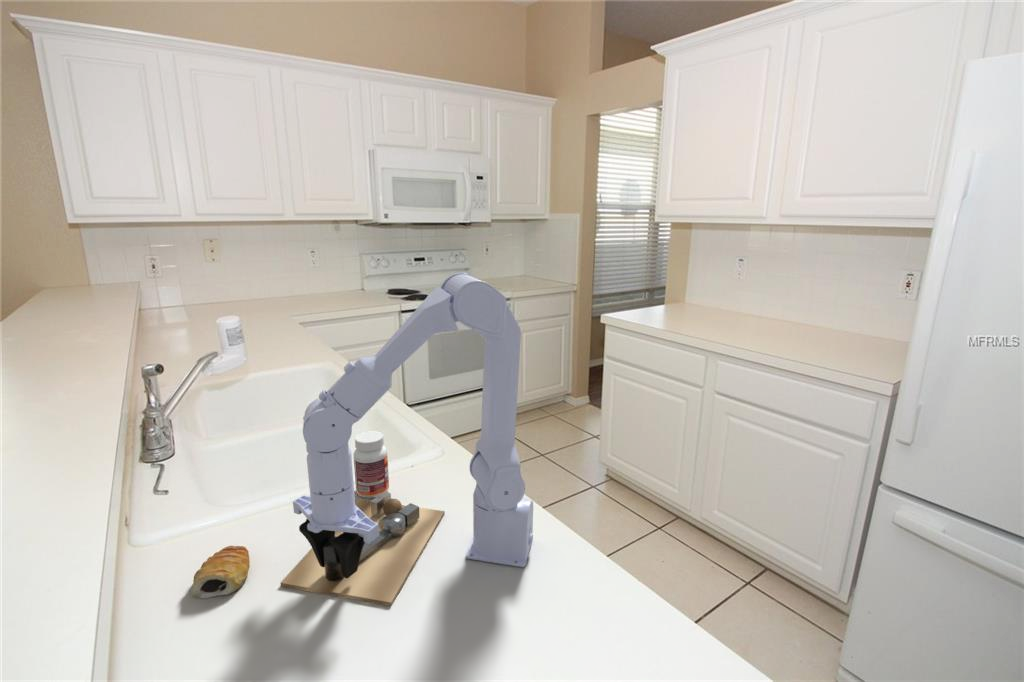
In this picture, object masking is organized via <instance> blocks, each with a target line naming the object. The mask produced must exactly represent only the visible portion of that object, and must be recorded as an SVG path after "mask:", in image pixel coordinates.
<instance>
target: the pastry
mask: <svg viewBox="0 0 1024 682" xmlns="http://www.w3.org/2000/svg"><path fill="white" fill-rule="evenodd" d="M249 570H250V554H249V550H248V549H247V547H246V546H243V545H241V546H239V545H236V546H235V545H227V546H226V547H224V548H222V549H220V550H219V551H216V552H214V554H213V555H212V556H209V557H208V558H207V560H205V561H204V562H202V564H201V567H200V569H198V570H197V571H196V572H195V573H194V576H193V580H192V581H193V584H192V586H191V589H190V590H189V593H190V595H191V596H192V597H195V598H196V599H202V600H203V599H204V600H205V599H211V598H215V597H218V596H225V595H230V594H232V593H234V592H236V591H238V590H239V589H240V588H241V587H242V586H244V585H245V584H246V581H247V578H248V574H249Z"/></svg>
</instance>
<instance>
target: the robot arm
mask: <svg viewBox="0 0 1024 682" xmlns="http://www.w3.org/2000/svg"><path fill="white" fill-rule="evenodd" d="M457 322H459V323H461V324H462V325H463V326H465V327H467V328H469V329H471V330H474V331H476V332H477V333H478V334H479V335H480V337H482V338H483V340H484V349H483V350H484V351H483V375H482V378H483V379H482V397H481V398H482V400H481V401H482V402H481V425H480V438H479V439H477V441H476V443H475V451H474V454H473V456H471V457H472V458H471V459H470V461H469V473H470V475H471V477H472V478H473V479H474V480H475V482H476V485H475V488H474V492H473V494H472V497H473V501H472V502H473V505H472V507H473V509H472V510H473V511H472V512H473V514H472V515H473V516H472V517H473V519H472V520H473V521H472V523H473V524H472V525H473V537H472V539H471V541H470V544H469V546H468V547H467V551H466V552H465V558H466V559H469V560H474V561H475V560H476V561H480V562H486V563H487V562H488V563H492V564H500V565H507V566H513V567H518V568H519V567H520V568H524V567H525V566H526V565H527V560H528V557H529V554H530V553H529V552H530V550H531V546H532V545H533V538H534V535H533V532H534V525H533V524H534V502H533V500H532V499H528V498H527V497H526V498H525V497H524V496H525V493H526V484H525V481H524V479H523V476H522V472H521V467H522V466H521V464H522V463H521V460H520V457H519V453H518V451H517V447H516V443H515V441H516V427H517V426H516V425H517V407H518V406H517V405H518V392H519V391H518V390H519V387H518V386H519V375H520V374H519V373H520V358H521V355H520V354H521V338H522V337H521V336H522V332H521V326H520V325H519V324H518V321H517V319H516V317H515V316H514V314H513V312H512V310H511V309H510V307H509V304H508V303H507V298H506V296H505V295H504V294H503V293H502V292H501V291H499V290H498V289H497V288H496V287H494V286H493V285H491V284H490V283H488V282H487V281H484V280H480V279H478V278H476V277H475V276H473V275H471V274H469V273H467V272H456V273H453V274H450V275H449V276H448V277H447V278H445V279H444V281H442V284H441V286H437V287H435V289H433V290H432V291H430V293H429V294H428V295H427V296H426V298H425V299H424V300H423V301H422V302H421V303H420V304H419V305H418V307H417V308H416V309H415V310H414V311H413V312H412V313H411V314H410V316H409V317H408V318H407V319H406V320H405V322H403V324H402V325H401V326H400V327H398V329H397V330H396V331H395V333H394V334H393V335H392V336H391V337H390V338H389V339H388V340H387V341H386V342H385V344H384V345H383V346H382V347H381V348H380V350H378V351H377V353H376V354H374V355H372V356H365V357H364V356H362V357H359V358H358V359H357V360H356V361H355V362H352V361H351V360H350V361H348V363H346V364H345V366H344V367H343V371H344V373H343V375H342V376H340V377H339V378H338V380H336V382H334V384H333V385H331V386H330V388H329V389H328V390H326V389H323V390H322V391H321V392H319V394H318V398H316V399H315V400H313V401H311V403H309V404H308V406H307V407H306V409H305V411H304V415H303V423H302V424H303V425H302V435H303V440H304V442H305V443H306V444H305V447H306V449H305V450H306V452H307V455H306V465H307V474H308V486H309V494H310V495H309V496H308V495H305V494H303V495H300V497H297V498H296V499H294V500H293V501H292V506H293V507H292V508H293V513H294V514H296V515H301V514H303V515H304V517H305V518H306V519H305V521H304V522H302V523H301V524H300V525H299V526H298V527H299V528H298V529H299V532H300V533H301V534H302V535H303V536H304V538H305V539H306V540H307V541H308V543H309V545H310V547H311V549H313V551H314V553H315V555H316V558H317V560H318V562H319V564H320V566H321V567H325V565H324V555H323V542H324V541H325V540H326V539H328V538H330V537H335V531H339V532H343V534H340V535H339V536H338V537H336V538H335V539H333V540H332V541H331V544H332V545H333V546H334V548H335V549H336V551H337V553H338V556H339V559H340V564H341V570H342V574H343V576H344V577H345V578H349V577H350V576H351V575H353V574H354V573H355V572H356V571H357V569H358V564H359V560H360V556H361V552H362V549H363V546H364V544H365V542H366V543H368V544H369V543H371V542H372V541H373V540H375V539H376V538H377V537H378V536H379V525H378V523H375V522H373V521H372V520H371V519H369V518H368V517H367V516H366V515H365V514H364V513H363V512H362V511H361V510H360V509H359V508H358V507H357V506H356V505H355V500H356V498H355V487H354V485H355V484H354V483H355V481H354V471H353V458H352V456H353V455H352V450H351V447H350V446H349V445H350V444H349V441H350V439H351V437H352V431H353V429H352V427H353V425H354V424H355V423H357V422H359V421H360V420H361V419H362V418H363V417H364V416H365V414H367V413H368V412H369V411H370V410H371V409H372V407H373V406H375V405H376V404H377V402H379V400H381V399H382V397H383V396H384V395H385V394H386V393H388V391H389V390H390V389H391V388H392V386H393V379H392V377H393V373H394V372H396V370H398V368H399V367H400V366H401V365H403V364H404V363H405V362H406V361H407V360H408V359H409V358H411V356H413V354H414V353H416V352H417V350H419V349H420V348H421V347H422V346H423V345H424V344H425V343H427V342H428V341H429V340H430V339H431V338H432V337H433V336H434V335H435V334H440V333H449V332H452V333H453V332H457V331H459V330H460V329H459V327H458V325H457Z"/></svg>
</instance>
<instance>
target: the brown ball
mask: <svg viewBox="0 0 1024 682" xmlns="http://www.w3.org/2000/svg"><path fill="white" fill-rule="evenodd" d="M402 505H403V504H402V502H401V501H400V500H399V499H397V498H391V499H389V500H388V501H386V503H385V504H384V507H383V511H384V514H385V515H386V516H387V515H389V514H392V513H398V511H400V510H401V509H402Z"/></svg>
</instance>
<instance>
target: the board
mask: <svg viewBox="0 0 1024 682" xmlns="http://www.w3.org/2000/svg"><path fill="white" fill-rule="evenodd" d="M355 505H356V506H357V507H358V508H359V509H360V510H361V511H362V512H363V513H364V514H365V515H366V516H367V517H368V518H369V519H371V520H372V521H373V522H375V523H378V525H379V532H380V531H381V530H383V519H384V517H385V516H386V515H385V514H383V515H382V516H380V517H379V518H375V517H372V516H371V500H366V499H359V498H355ZM406 506H407V505H403V504H402V509H403V508H404V507H406ZM444 516H445V510H441V509H440V510H438V509H432V508H425V507H419V517H420V518H419V519H417V520H416V521H415V522H413V523H412V524H411V525H409V526H408V527H407V526H406V531H405V533H404V534H403V535H402V536H400V537H397V538H391V539H390V540H388V541H387V542H386V543H384V544H383V545H382V546H380V547H379V548H378V549H376V550H375V551H374V552H372V553H371V554H369V555H368V556H367V557H365V558H364V559H363V560H361V561H360V562H359V564H358V569H357V571H356V572H355V573H354V574H353V575H351V576H350V577H349V578H345V577H343V578H341V579H339V580H336V581H329V580H327V579H326V576H325V567H321V566H320V564H319V562H318V560H317V558H316V555H315V553H314V551H313V549H312V548H310V550H308V552H307V553H306V554H305V555H304V556H303V558H301V560H299V562H297V564H296V565H295V566H294V567H293V568H292V569H291V570H290V572H289V573H288V574H287V575H286V576H285V577H283V579H282V581H280V587H282V588H289V589H295V590H299V591H303V592H304V591H306V592H311V593H316V594H322V595H327V596H334V597H338V598H344V599H350V600H355V601H361V602H367V603H370V604H371V603H372V604H378V605H383V606H387V607H388V606H389V607H392V606H393V605H394V603H395V600H396V599H397V597H398V596H399V594H400V593H401V590H402V588H403V587H404V585H405V584H406V581H407V580H408V579H409V577H410V575H411V573H412V571H413V570H414V568H415V567H416V564H417V563H416V562H418V561H419V560H420V558H421V556H422V554H423V552H424V551H425V549H426V547H427V545H428V544H429V541H430V540H431V538H432V537H433V535H434V533H435V531H436V530H437V528H438V526H439V525H440V523H441V521H442V519H443V517H444ZM340 534H343V532H339V531H335V536H337V537H338V536H339V535H340ZM427 543H428V544H427ZM423 550H424V551H423ZM419 557H420V558H419Z"/></svg>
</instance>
